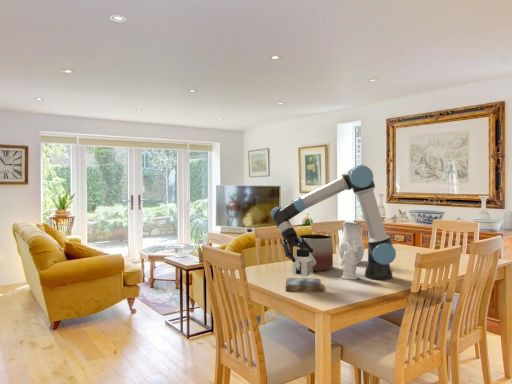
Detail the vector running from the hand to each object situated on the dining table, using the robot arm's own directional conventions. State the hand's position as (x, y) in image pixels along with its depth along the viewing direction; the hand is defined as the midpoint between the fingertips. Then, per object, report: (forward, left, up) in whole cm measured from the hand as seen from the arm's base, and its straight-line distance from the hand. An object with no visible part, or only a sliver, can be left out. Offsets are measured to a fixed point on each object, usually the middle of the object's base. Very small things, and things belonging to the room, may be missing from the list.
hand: (306, 265), depth 202 cm
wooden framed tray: (+2, -2, -12) cm, 12 cm away
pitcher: (-31, -72, -12) cm, 80 cm away
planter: (-6, -48, -12) cm, 50 cm away
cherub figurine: (-26, -25, -12) cm, 38 cm away
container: (+2, -2, -5) cm, 6 cm away
